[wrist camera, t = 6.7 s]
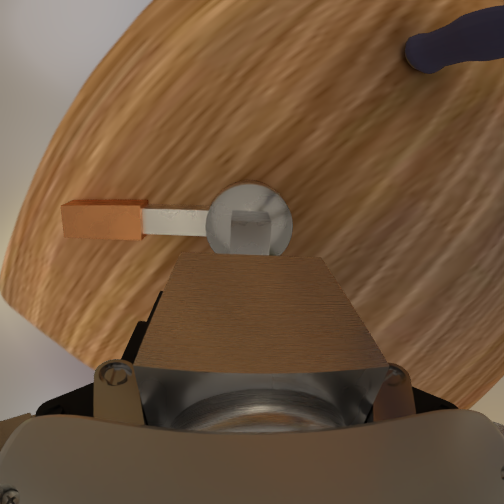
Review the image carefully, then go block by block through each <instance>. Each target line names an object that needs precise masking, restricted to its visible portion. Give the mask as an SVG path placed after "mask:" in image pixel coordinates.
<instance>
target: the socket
mask: <svg viewBox="0 0 504 504" xmlns="http://www.w3.org/2000/svg"><path fill="white" fill-rule="evenodd" d="M133 368H134V372H135V377H136V381H137V385H138V389H139V393H140V397H141V400H142V404H143V408H144V411H145V415H146V418H147V422H148V425H149V426H156V427H164V428H174V429H185V430H198V431H217V432H281V431H299V430H313V429H324V428H334V427H342V426H350V425H357V424H363V423H364V421H365V419H366V417H367V415H368V413H369V411H370V409H371V407H372V405H373V403H374V400H375V398H376V396H377V394H378V392H379V390H380V387H381V385H382V383H383V380H384V378H385V376H386V373H387V371H388V369H389V364H388V363H387V361H386V359H385V358H384V356H383V354H382V353H381V351H380V349H379V348H378V346H377V344H376V343H375V341H374V339H373V338H372V336H371V334H370V333H369V331H368V330H367V328H366V326H365V325H364V323H363V322H362V320H361V318H360V317H359V315H358V314H357V312H356V310H355V309H354V307H353V306H352V304H351V302H350V301H349V299H348V298H347V296H346V295H345V293H344V292H343V290H342V288H341V287H340V285H339V284H338V282H337V281H336V279H335V278H334V276H333V275H332V273H331V272H330V270H329V269H328V267H327V266H326V264H325V263H324V261H323V260H322V258H319V257H293V256H268V255H243V254H219V253H195V252H181V253H180V256H179V258H178V260H177V262H176V264H175V266H174V269H173V271H172V273H171V275H170V278H169V280H168V282H167V284H166V287H165V289H164V291H163V293H162V296H161V298H160V300H159V303H158V305H157V307H156V310H155V312H154V314H153V317H152V319H151V322H150V324H149V326H148V329H147V331H146V334H145V336H144V339H143V341H142V343H141V346H140V348H139V351H138V354H137V356H136V359H135V361H134V364H133Z"/></svg>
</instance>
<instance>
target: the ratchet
mask: <svg viewBox="0 0 504 504" xmlns="http://www.w3.org/2000/svg"><path fill="white" fill-rule="evenodd" d="M61 214H62V223H63V232H64V237H65V238H92V239H117V240H142V239H143V238H144V237H145V236H146V235H147V234H162V235H187V236H207V239H208V242H209V244H210V246H211V248H212V249H213V251H214V252H215V253H219V254H243V255H268V256H280V255H281V254H282V253H283V252H284V250H285V249H286V247H287V246H288V244H289V242H290V239H291V236H292V228H293V223H292V217H291V213H290V211H289V208H288V207H287V205H286V203H285V202H284V200H283V199H282V197H281V196H280V195H279V193H278V192H277V191H276V190H274V189H273V188H272V187H270V186H269V185H267V184H265V183H262V182H259V181H253V180H244V181H239V182H235V183H233V184H230V185H229V186H227V187H225V188H224V189H223V190H221V191H220V192H219V193H218V195H217V196H216V197H215V199H214V200H213V202H212V204H211V206H201V205H167V204H148V200H72V201H70V202H68V203H66V204H64V205H61Z"/></svg>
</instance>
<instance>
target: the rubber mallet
mask: <svg viewBox="0 0 504 504" xmlns="http://www.w3.org/2000/svg"><path fill="white" fill-rule="evenodd" d="M405 57H406V59H407V61H408V63H409V64H410V65H411V66H412V67H413V68H414V69H417V70H419V71H421V72H423V73H428V74H432V73H435V72H437V71H439V70H441V69H442V68H443V67H445V66H448V65H452V64H456V63H460V62H465V61H490V60H495V59H500V58H504V5H503V6H495V7H490V8H485V9H481V10H478V11H474V12H471V13H468V14H465V15H463V16H461V17H459V18H458V19H456V20H455V21H453V22H452V23H450V24H449V25H447V26H445V27H442V28H440V29H438V30H435V31H433V32H430V33H423V34H417V35H415V36H412V37H410V38H409V39H408V40H407V42H406V47H405Z"/></svg>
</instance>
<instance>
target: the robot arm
mask: <svg viewBox="0 0 504 504" xmlns="http://www.w3.org/2000/svg"><path fill="white" fill-rule="evenodd" d="M162 293H163V291H160V293H159V295H158V297H157V300H156V302H155V304H154V306H153V309H152V311H151V313H150V315H149V318H148V320H147V322H145V321H139V322H138V323H137V325H136V327H135V330H134V332H133V334H132V336H131V338H130V340H129V343H128V345H127V347H126V349H125V351H124V354H123V356H122V358H121V359H113V360H108V361H106V362H104V363H102V364H101V365H99V366H98V367H97V369H96V370H95V373H94V382H93V383H91V384H88V385H86V386H84V387H81V388H79V389H76V390H74V391H72V392H69V393H66V394H64V395H62V396H59V397H56V398H54V399H51V400H49V401H47V402H45V403H43V404H42V405H41V406H40V407H39V408H38V410H37V411H36V414H35V415H31V414H30V413H27V414H23V415H20V416H17V417H13V418H10V419H7V420H3V421H0V504H504V426H503V425H501V424H499V423H496V422H492V421H491V420H490V419H489V418H488V417H486V416H485V415H484V414H482V413H480V412H476V411H472V410H465V409H458V407H456V406H455V405H454V404H452V403H450V402H448V401H446V400H443V399H441V398H438V397H436V396H434V395H431V394H429V393H426V392H424V391H422V390H419V389H417V388H414V387H412V385H411V379H410V376H409V373H408V372H407V371H406V370H405V369H404V368H403V367H401V366H399V365H397V364H394V363H388V364H389V369H388V371H387V373H386V376H385V378H384V380H383V383H382V385H381V387H380V390H379V392H378V394H377V396H376V398H375V400H374V403H373V405H372V407H371V409H370V411H369V413H368V415H367V417H366V419H365V421H364V423H363V424H357V425H350V426H342V427H334V428H324V429H313V430H299V431H281V432H217V431H198V430H185V429H174V428H164V427H156V426H149V425H148V422H147V418H146V415H145V411H144V408H143V404H142V400H141V397H140V393H139V389H138V385H137V381H136V377H135V372H134V368H133V364H134V361H135V359H136V356H137V354H138V351H139V348H140V346H141V343H142V341H143V339H144V336H145V334H146V331H147V329H148V326H149V324H150V322H151V319H152V317H153V314H154V312H155V310H156V307H157V305H158V303H159V300H160V298H161V296H162Z"/></svg>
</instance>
